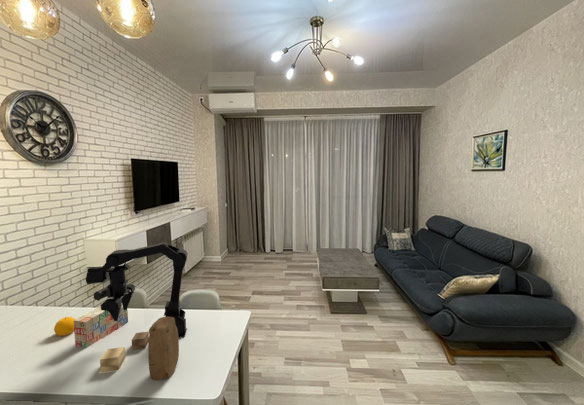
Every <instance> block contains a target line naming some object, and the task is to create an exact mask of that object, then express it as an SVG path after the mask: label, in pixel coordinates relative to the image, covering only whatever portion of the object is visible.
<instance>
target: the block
mask: <svg viewBox="0 0 584 405" xmlns="http://www.w3.org/2000/svg"><path fill="white" fill-rule="evenodd" d="M148 331H149V338H148V344H147V347H148V348H147V349H148V351H147V354H148V371H149V376H150V377H149V378H151V380H155V381H164V380H166V379H169V378H170V377H171V376H172V375H173V374H174V373H175V371H176V368H177V366H178V361H179V355H180V345H179V343H180V342H179V338H180V337H179V338H178V330H177V327H176V325H175V319H174V318H173V317H165V316H162V317H159V318H158V319H157V320H155V321H154V322H153V323H152V324H151V326H150V328H149V329H148Z"/></svg>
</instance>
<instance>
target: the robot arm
mask: <svg viewBox="0 0 584 405" xmlns="http://www.w3.org/2000/svg"><path fill="white" fill-rule="evenodd" d="M157 254H162V255H164V256H165V257H166V258H167V259H169V260H171V261H172V266H173V268H172V269H173V277H172V278H173V279H172V283H171V292H170V293H171V294H170V300H169V301H168V300H166V303H165V307H164V313H163V317H173V318H174V319H175V325H176V327H177V330H178V338H184V337H186V334H187V331H188V328H187V321H186V320H187V319H186V311H185V310H184V309H182V308H181V300H180V299H181V298H180V297H181V295H180V294H181V287H182V280H183V273H184V269H185V265H186V262H187V259H188V251H187V250H186V249H183V248H179V247H177V246H174V245H172V244H169V243H167V242H165V241H163V242H160V243H156V244H152V245H148V246H143V247H138V248H135V249H117V250H114V251H112V252H111V253H109V254H108V255H107V257H106V258H105V263H104V265H102V266H90V267H88V268H87V272H86V276H85V282H86V285H95V284H102V283H106V281H107V280H109V284H108V285H107V287H103V288H102V289H99V290H97V291H95V292H93V296H92V297H93V300H96V301H97V302H98V301H101V300H103V299H104V298H107V299H105V301H103V302H102V303H101V305H100V306H99V307H101V310H104V311H109V313H110V314H111V316H112V318H113V319H114V321H117V320H118V318H119V314H120V311H121V307H122V305H123V309H124V310H128V307H129V305H130V303H131V300H132V298H133V296H134V295H133V294H134V293H135V291H136V286H135V285H134V283H133V284H132V283H131V284H127V283H128V282H129V279H126V278H127V277H126V271H127V270H129V269H130V268H131V265H129V264H127V263H128V262H131V261H132V260H136V259H140V258H144V257H149V256H155V255H157ZM121 304H122V305H121Z"/></svg>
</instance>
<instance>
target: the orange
mask: <svg viewBox="0 0 584 405" xmlns="http://www.w3.org/2000/svg"><path fill="white" fill-rule="evenodd" d="M74 320H75V317H72V316H66V317H63V318H60V319H59V320H58V321H57V322H56V323H55V325H54V327H53V328H54V329H53V330H54V333H55V334H56V336H59V337H60V336H61V337H64V336H68V335H70V334H72V333H74Z"/></svg>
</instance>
